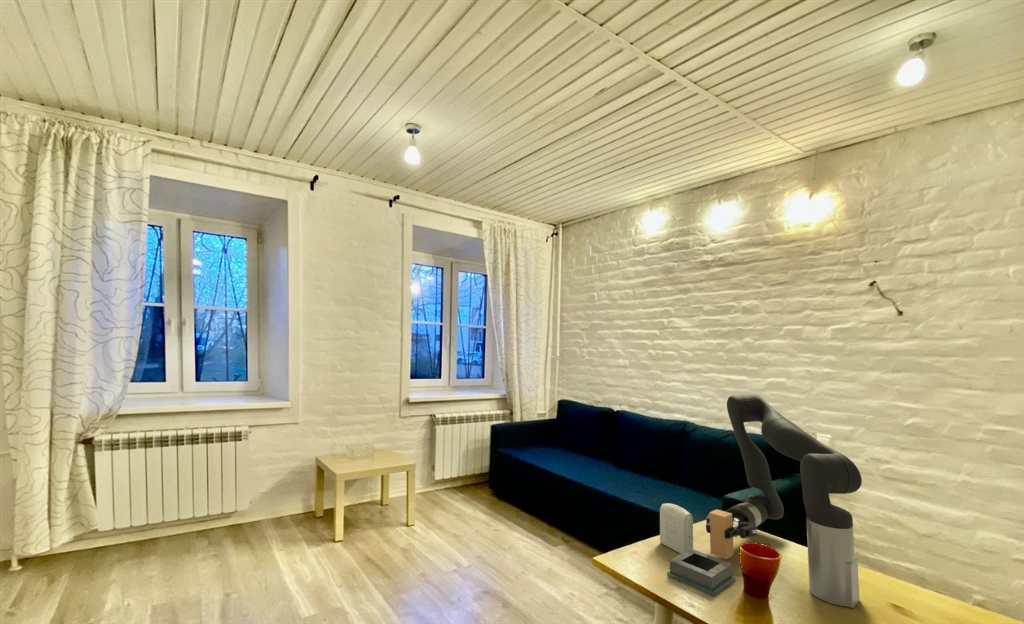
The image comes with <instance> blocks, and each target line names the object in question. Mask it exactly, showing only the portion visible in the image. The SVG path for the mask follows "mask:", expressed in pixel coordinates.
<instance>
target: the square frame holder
mask: <svg viewBox="0 0 1024 624" xmlns="http://www.w3.org/2000/svg"><path fill="white" fill-rule="evenodd" d="M666 575H667V577H668V576H669V577H668V578H670V577H671V579H673V580H674V581H677V582H680V583H682V584H683V585H687V586H689V587H691V588H693V589H696V590H698V591H700V592H702V593H705V594H707V595H709V596H712V597H715V596H716V595H717V594H719V593H720V592H722V591H723V590H724V589H725V588H727V587H728V586H730V585H731V584H732V583H733V582H735V581H736V575H734V574H733V563H731V562H728V561H726V560H725V559H724V560H723V559H721V558H718V557H715V556H712V555H709V554H707V553H704V552H702V551H700V550H699V551H698V550H696V549H694V548H693V549H689V550H687V551H686V552H684V553H682V554H681V553H679V554H678V555H676V556H675V557H673V558H671V559H670V560H669V571H667V573H666Z"/></svg>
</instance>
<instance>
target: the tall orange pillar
mask: <svg viewBox="0 0 1024 624" xmlns="http://www.w3.org/2000/svg"><path fill="white" fill-rule="evenodd" d="M708 514H709V517H710V533H709V542H710V543H709V545H710V547H709V548H710V554H711V555H714V556H717V557H720V558H722V559H724V560H727V559H729V558H731V557H733V556H734V555H735V550H734V549H735V548H734V537H732V538H729V539H726V538H725V530H726V529H728V528H730V527H732V526H733V521H732V513H728V512H726V511H725V510H721V509H718V508H717V509H714V510H712V511H710V512H709V513H708Z"/></svg>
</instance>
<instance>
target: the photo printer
mask: <svg viewBox="0 0 1024 624" xmlns="http://www.w3.org/2000/svg"><path fill="white" fill-rule="evenodd" d="M693 520H694V517H693V515H692V514H691V513H690V512H689V511H688V510H686V509H685V508H684V507H681V506H679V505H677V504H675V503H674V504H673V503H669V502H668V503H662V504H661V506H660V508H659V542H660V543H661V544H662V545H664V546H665V547H667V548H670V549H671V550H674V551H675V552H676V553H679V554H682V553H684V552H686V551H687V550H689V549H694V521H693Z"/></svg>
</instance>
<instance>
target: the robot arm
mask: <svg viewBox="0 0 1024 624" xmlns="http://www.w3.org/2000/svg"><path fill="white" fill-rule="evenodd" d="M726 409H727V414H728V417H729V421H730V424H731V426H732V430H733V432H734V433H733V434H734V435H735V438H736V441H737V444H738V448H739V450H740V453H741V457H742V459H743V460H742V461H743V463H744V464H743V465H744V470H745V475H746V480H747V483H748V485H749V486H750V487H751V488H755V489H757V490H760V491H761V492H763V494H757V493H755V494H754V493H753V494H749V495H747V497H746V499H745V500H744V502H742V503H738V504H736V505H733V506H731V507H730V508H728V509H726V511H725V512H728V513H732V521H733V526H732V527H730V528H728V529H726V530H725V538H726V539H729V538H732V537H733V538H738V537H739V538H741V539H747V538H752V537H757V536H758V526H760V525H761V524H763V523H764V522H765V521H766V520H767V519H770V520H775V521H776V520H780V519H781V518H783V516H784V513H785V509H784V504H783V501H782V500H781V498H780V495H779V494H778V491H777V489H776V488H775V486H774V483H773V481H772V477H771V472H770V467H769V463H768V461H767V458H766V456H765V454H764V453H763V452H762V450H761V449H760V448H759V447H758V445H756V443H755V442H754V441H753V440H752V438H751V437H750V435H749V434H748V432H747V430H746V428H745V423H752V422H755V423H756V422H760V423H762V424H761V429H760V430H761V435H762V438H763V439H764V441H765V442H766V443H767V444H769V446H771V448H773V450H775V451H777V452H778V453H779V454H781V455H784V456H786V457H788V458H790V459H793V460H795V461H798V462H800V467H799V468H800V480H801V488H802V489H801V490H802V501H803V505H804V509H805V513H806V514H805V515H806V539H807V541H806V542H807V560H808V561H807V562H808V585H809V586H808V587H809V592H810V593H811V594H812V595H813V596H815V598H818V599H819V600H821V601H824V602H825V603H829V604H832V605H835V606H841V607H846V608H850V609H854V608H855V607H856V605H857V604H858V603H859V601H860V600H861V599H860V598H861V597H860V584H859V582H860V581H859V564H858V562H859V561H858V557H856V555H855V541H854V540H855V539H854V538H855V537H854V522H853V521H854V520H853V516H852V514H851V512H849V510H847V509H844V508H843V507H840V506H837V505H835V504H832V502H831V499H830V498H831V497H830V495H831V494H832V495H833V494H834V495H838V494H839V495H846V494H852V493H855V492H857V491H858V490H859V489H860V488H861V486H862V482H863V479H862V475H861V472H860V470H859V468H858V467H857V465H856V464H855V463H854V462H853V461H852V460H851V459H850V458H849V457H848V456H846V455H845V454H843V453H841V452H839V451H838V450H835V449H834V448H831V447H830V446H828V445H826V444H824V443H822V442H821V441H819V440H818V439H817V438H815V437H814V436H812V435H811V434H809V433H808V432H806V431H804V430H803V429H802V428H800V426H798V425H797V424H795V423H794V422H793V421H792V420H790V419H788V418H786V417H785V416H783V415H782V414H781V413H779V412H778V411H777V410H776V409H775V408H774V407H772V406H771V405H770V404H769V403H768V402H767V401H766V400H765V399H764V398H762V396H760V395H759V394H755V393H747V394H738V395H737V394H735V395H731V396H729V397H728V398H727V400H726ZM705 518H706V520H705V521H706V524H705V530H706V533H707V534H710V517H709V513H708V514H707V516H706V517H705Z"/></svg>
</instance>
